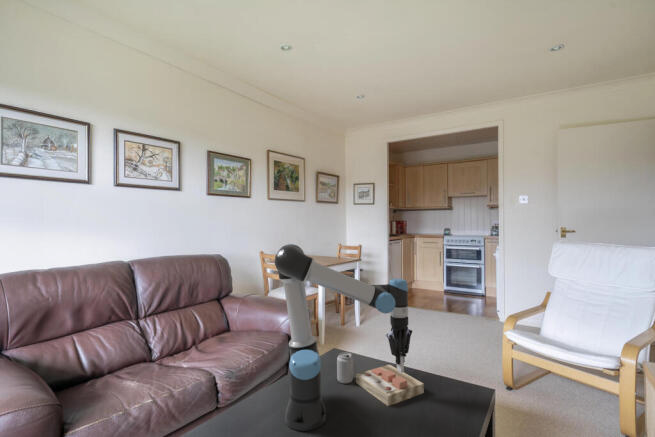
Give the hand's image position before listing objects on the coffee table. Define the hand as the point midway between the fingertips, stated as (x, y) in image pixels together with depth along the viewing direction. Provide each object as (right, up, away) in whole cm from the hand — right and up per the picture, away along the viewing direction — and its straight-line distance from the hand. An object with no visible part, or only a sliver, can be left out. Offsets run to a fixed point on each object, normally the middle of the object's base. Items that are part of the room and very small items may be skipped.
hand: (400, 371), depth 138 cm
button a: (0, -7, 0) cm, 7 cm away
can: (-23, -11, +13) cm, 28 cm away
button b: (-4, -7, +6) cm, 10 cm away
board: (-4, -10, +6) cm, 12 cm away
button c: (-7, -9, +12) cm, 17 cm away
